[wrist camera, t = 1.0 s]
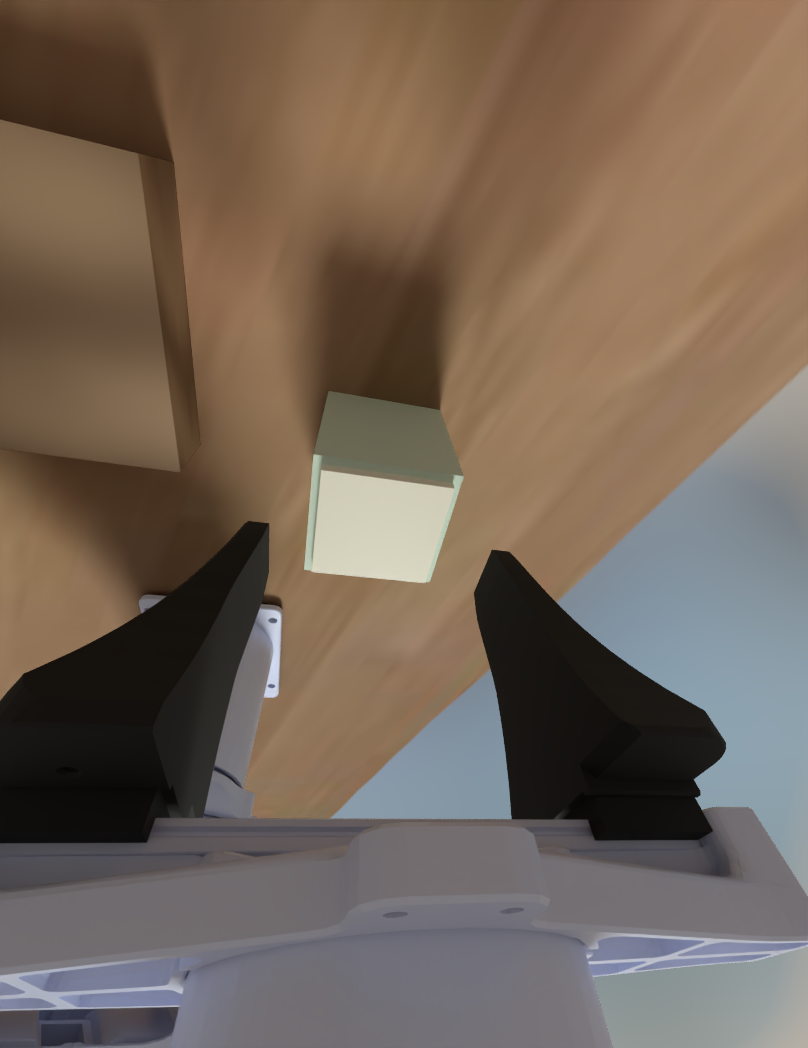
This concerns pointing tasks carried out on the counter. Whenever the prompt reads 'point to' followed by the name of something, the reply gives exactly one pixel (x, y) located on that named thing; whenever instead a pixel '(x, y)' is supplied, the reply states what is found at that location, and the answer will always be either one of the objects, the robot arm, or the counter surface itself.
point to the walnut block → (92, 304)
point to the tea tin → (380, 489)
